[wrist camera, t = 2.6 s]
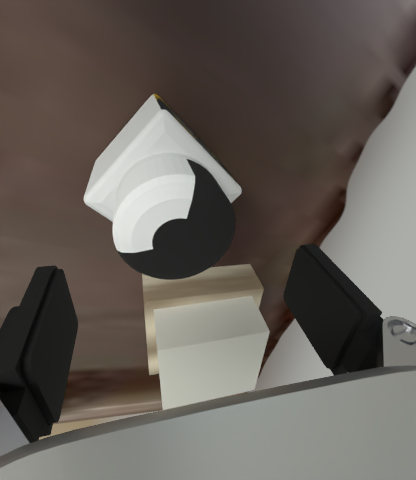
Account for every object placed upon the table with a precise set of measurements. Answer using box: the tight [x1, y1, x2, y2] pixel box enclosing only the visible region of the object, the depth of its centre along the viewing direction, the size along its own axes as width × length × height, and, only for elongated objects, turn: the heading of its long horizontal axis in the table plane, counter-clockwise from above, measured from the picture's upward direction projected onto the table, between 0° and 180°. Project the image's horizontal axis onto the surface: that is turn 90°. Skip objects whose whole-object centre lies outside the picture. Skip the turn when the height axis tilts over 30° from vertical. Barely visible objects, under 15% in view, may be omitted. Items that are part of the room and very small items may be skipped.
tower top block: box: [154, 296, 270, 410], centre depth 28 cm, size 10×10×4 cm
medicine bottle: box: [83, 94, 242, 280], centre depth 18 cm, size 7×7×12 cm
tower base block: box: [142, 264, 264, 375], centre depth 32 cm, size 12×12×4 cm
